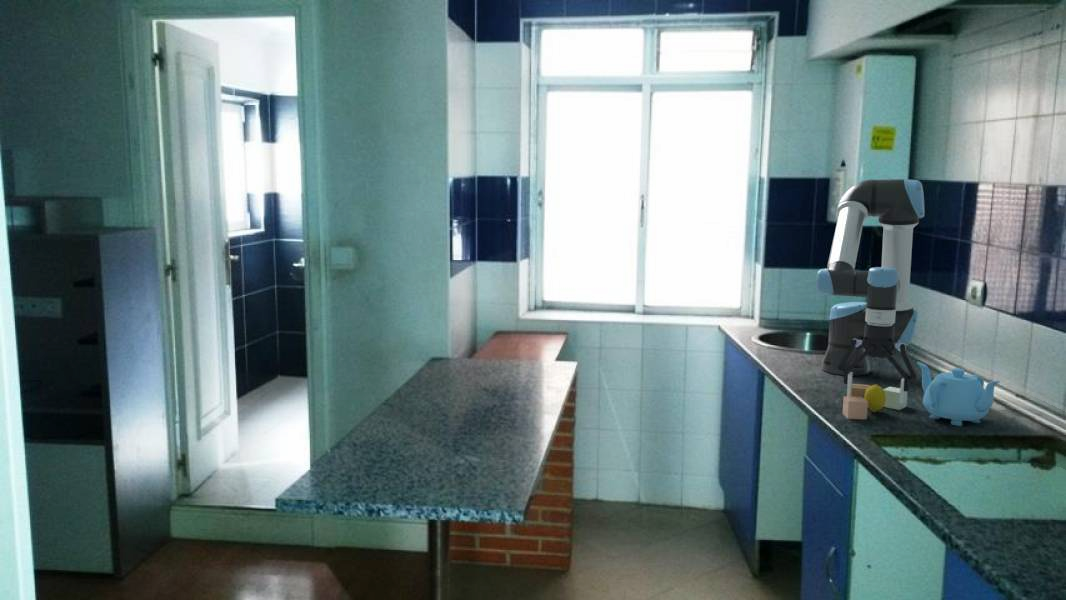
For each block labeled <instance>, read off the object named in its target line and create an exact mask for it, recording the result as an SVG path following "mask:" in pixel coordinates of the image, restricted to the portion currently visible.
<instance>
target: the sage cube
mask: <svg viewBox="0 0 1066 600" xmlns="http://www.w3.org/2000/svg"><path fill="white" fill-rule="evenodd" d="M900 388H901V387H894V386H888V387H886V388H883V390H884V391H885V395H886V402H885V405H884V406H883V408H888V409H892V410H898V411H900V410H902V409H904V408H906V407H907V406H908V405H907V404H908V403H907V402H908V392H906V391H904V402H903V404H900V403H899V402H900Z"/></svg>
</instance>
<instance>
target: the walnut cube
mask: <svg viewBox="0 0 1066 600" xmlns="http://www.w3.org/2000/svg"><path fill="white" fill-rule="evenodd" d="M870 386H871V385H870V384H860V383H852V391H851V397H863V398H864V396H865V392H866V390H867V388H869V387H870Z"/></svg>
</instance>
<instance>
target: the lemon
mask: <svg viewBox="0 0 1066 600" xmlns="http://www.w3.org/2000/svg"><path fill="white" fill-rule="evenodd" d="M883 389H884V388H883V387H882V386H879V385H878V384H876V383H875V384H873V385H870V387H869V388H867V390H866V392H865V396H864V399H865V400H866V401H867V402H868V407H867V409H869V410H871V411H872V412H873V413H876V412H878V411H881V410H882V409H883V408H884V407H883V406H884V405H885V402H886V395H885V391H884V390H883Z"/></svg>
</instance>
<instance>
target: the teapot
mask: <svg viewBox="0 0 1066 600" xmlns="http://www.w3.org/2000/svg"><path fill="white" fill-rule="evenodd" d="M916 363H917V365H918V366H919V367H920V368H921V372H922V374H921V375H922V379H921V387H922V390H923V393H924V394H923V398H922V404H923V407H924V409H926V410H927V411H928V412H929V414H930V415H929V416H928V418H929V417H930V418H929V419H931V418H934V419H933V420H940V419H941V418H942V419H948V420H950V425H951V424H952V425H951V426H953V425H957V426H956V427H963V426H962V425H963V421H965V422H966V421H968V422H970V423H972V422H973V424H981V419H982V418H984V417H985V416H986V415H987V414H988V413H989V412H990V409H991V407H992V406H993V403H994V398H995V397H994V396H995V395H994V393H995V388H996V386H997V384H999V383H1000V382H1001V380H995V381H994V380H993V381H992V380H991V381H989V382H987V384H986V386H985V387H984V385H985V381H984V378H983V377H982V376H980V375H978V374H967V373H965V372H966V370H965V369H963V368H958V367H957V368H955V367H954V368H951V372H940V373H939V374H937V375H936V376H935V377H934V379H933V380H932V377H931V371H930V369H929V367H928V366H927V365H926V364H925V363H923V362H919V361H917V362H916Z"/></svg>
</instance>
